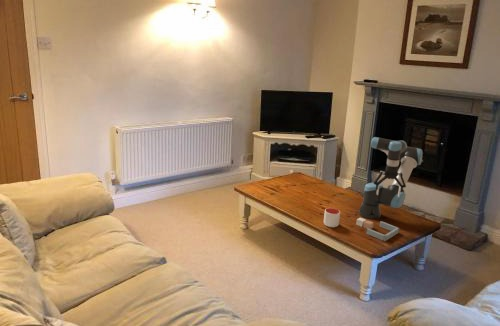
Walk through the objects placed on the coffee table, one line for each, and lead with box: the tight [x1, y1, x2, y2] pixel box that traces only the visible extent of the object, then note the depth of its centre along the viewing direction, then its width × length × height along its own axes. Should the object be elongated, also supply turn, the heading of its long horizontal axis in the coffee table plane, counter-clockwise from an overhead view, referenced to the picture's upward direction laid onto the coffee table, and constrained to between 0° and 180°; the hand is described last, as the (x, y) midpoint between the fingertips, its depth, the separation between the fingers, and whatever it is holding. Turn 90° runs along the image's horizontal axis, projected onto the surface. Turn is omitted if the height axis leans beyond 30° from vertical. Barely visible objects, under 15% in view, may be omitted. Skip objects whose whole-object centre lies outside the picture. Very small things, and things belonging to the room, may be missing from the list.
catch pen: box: [365, 221, 400, 242], centre depth 266 cm, size 13×18×4 cm
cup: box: [323, 207, 341, 228], centre depth 274 cm, size 10×10×10 cm
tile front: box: [362, 219, 374, 230], centre depth 273 cm, size 4×4×4 cm
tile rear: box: [355, 217, 367, 228], centre depth 277 cm, size 4×4×4 cm
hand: (387, 195), depth 273 cm, fingers open, 13 cm apart
